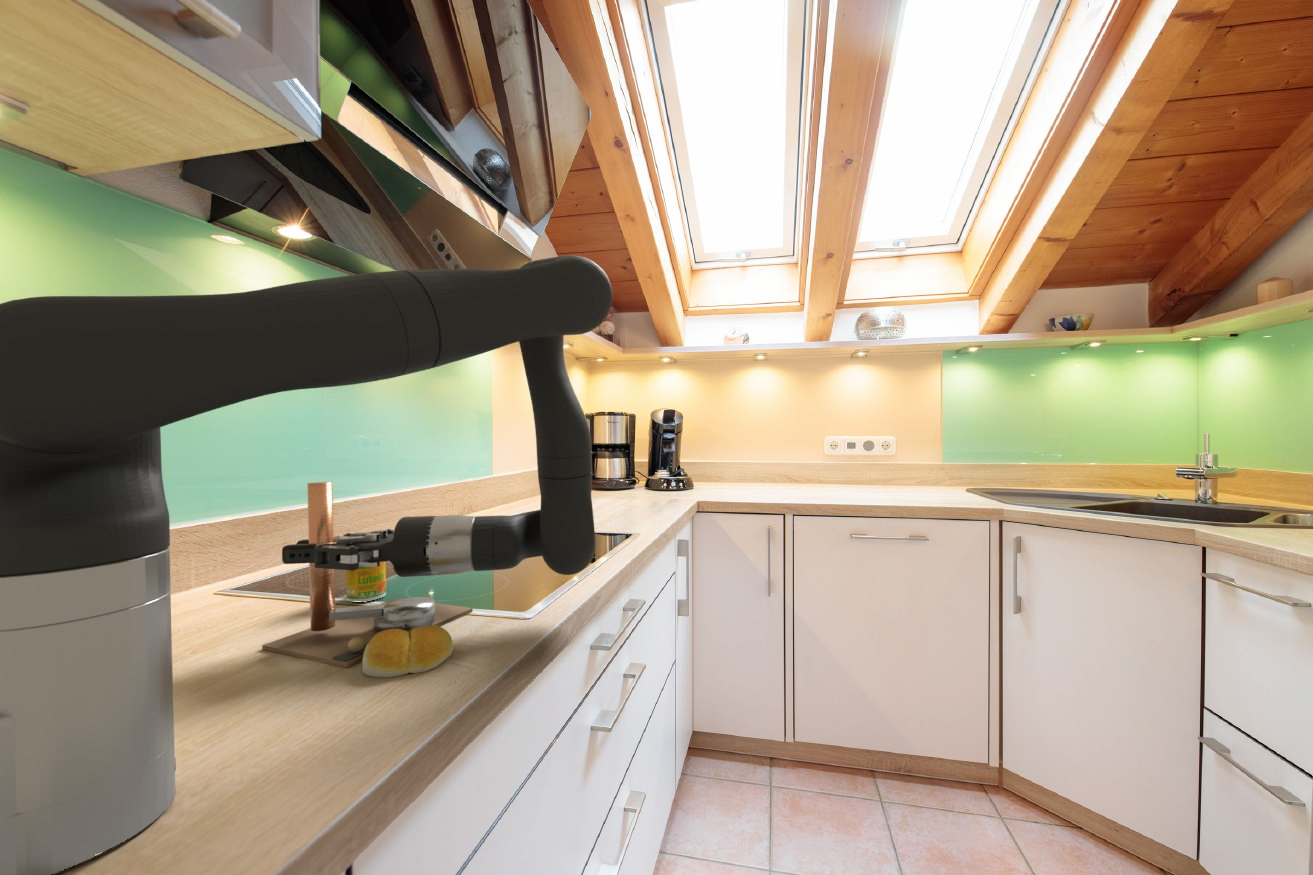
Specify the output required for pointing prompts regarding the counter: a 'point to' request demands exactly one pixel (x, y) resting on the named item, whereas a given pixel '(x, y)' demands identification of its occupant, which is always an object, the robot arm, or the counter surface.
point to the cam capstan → (323, 583)
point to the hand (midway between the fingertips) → (291, 551)
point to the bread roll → (406, 651)
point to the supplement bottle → (366, 583)
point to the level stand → (347, 638)
